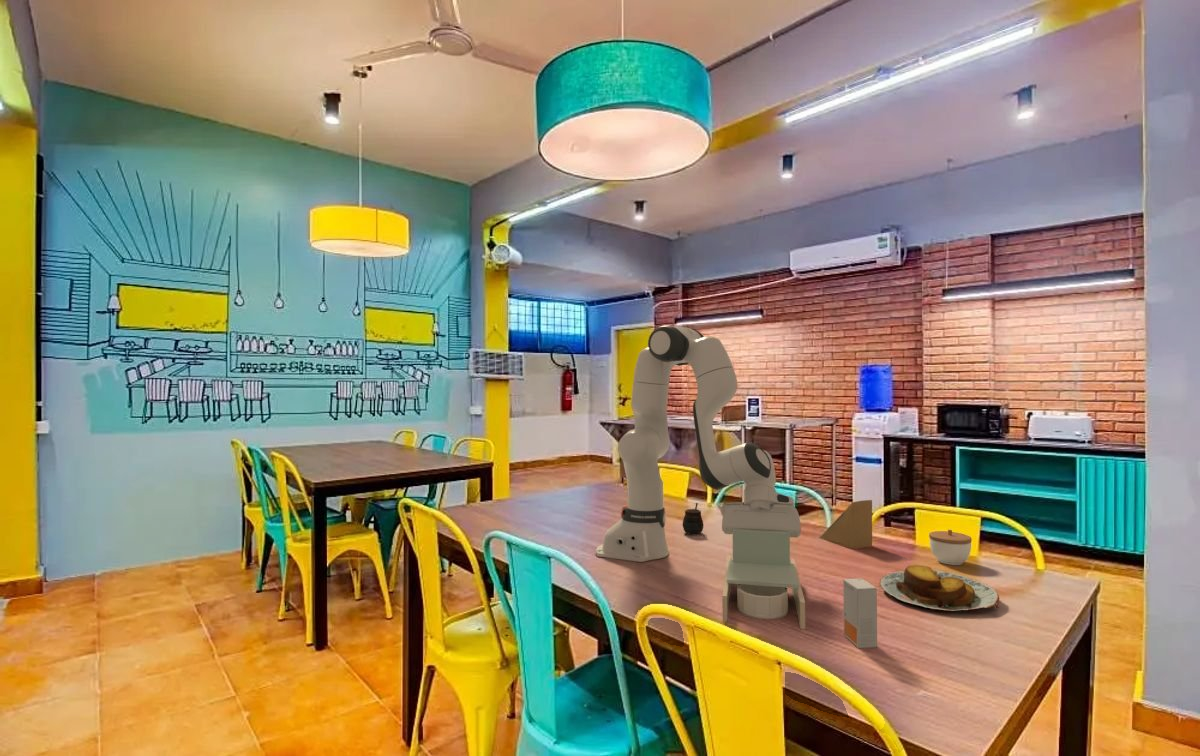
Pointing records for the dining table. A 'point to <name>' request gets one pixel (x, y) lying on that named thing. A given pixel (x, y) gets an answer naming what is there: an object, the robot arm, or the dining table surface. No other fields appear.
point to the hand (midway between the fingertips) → (761, 548)
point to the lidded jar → (950, 546)
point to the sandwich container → (852, 526)
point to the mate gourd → (693, 521)
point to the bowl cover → (761, 559)
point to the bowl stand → (764, 600)
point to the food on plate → (938, 589)
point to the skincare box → (860, 613)
